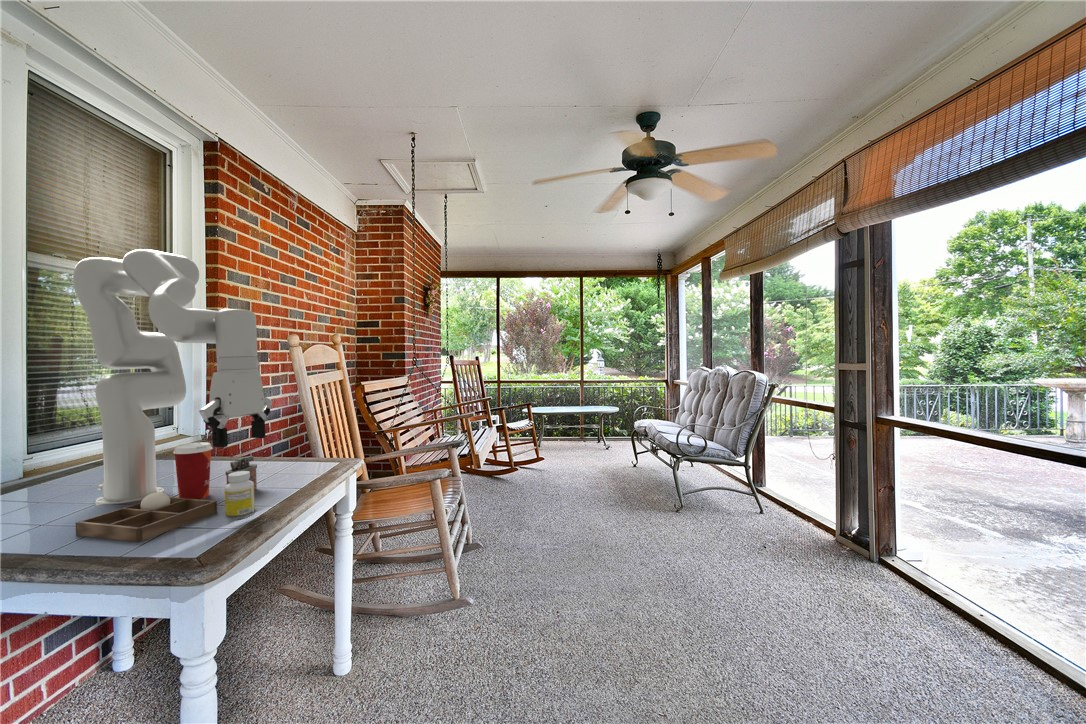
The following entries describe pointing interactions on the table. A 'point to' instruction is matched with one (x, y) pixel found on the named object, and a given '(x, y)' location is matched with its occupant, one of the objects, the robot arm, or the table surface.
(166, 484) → the table surface
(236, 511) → the supplement bottle
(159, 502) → the white ball
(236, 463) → the lighter
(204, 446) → the paper cup
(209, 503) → the wooden compartment tray
